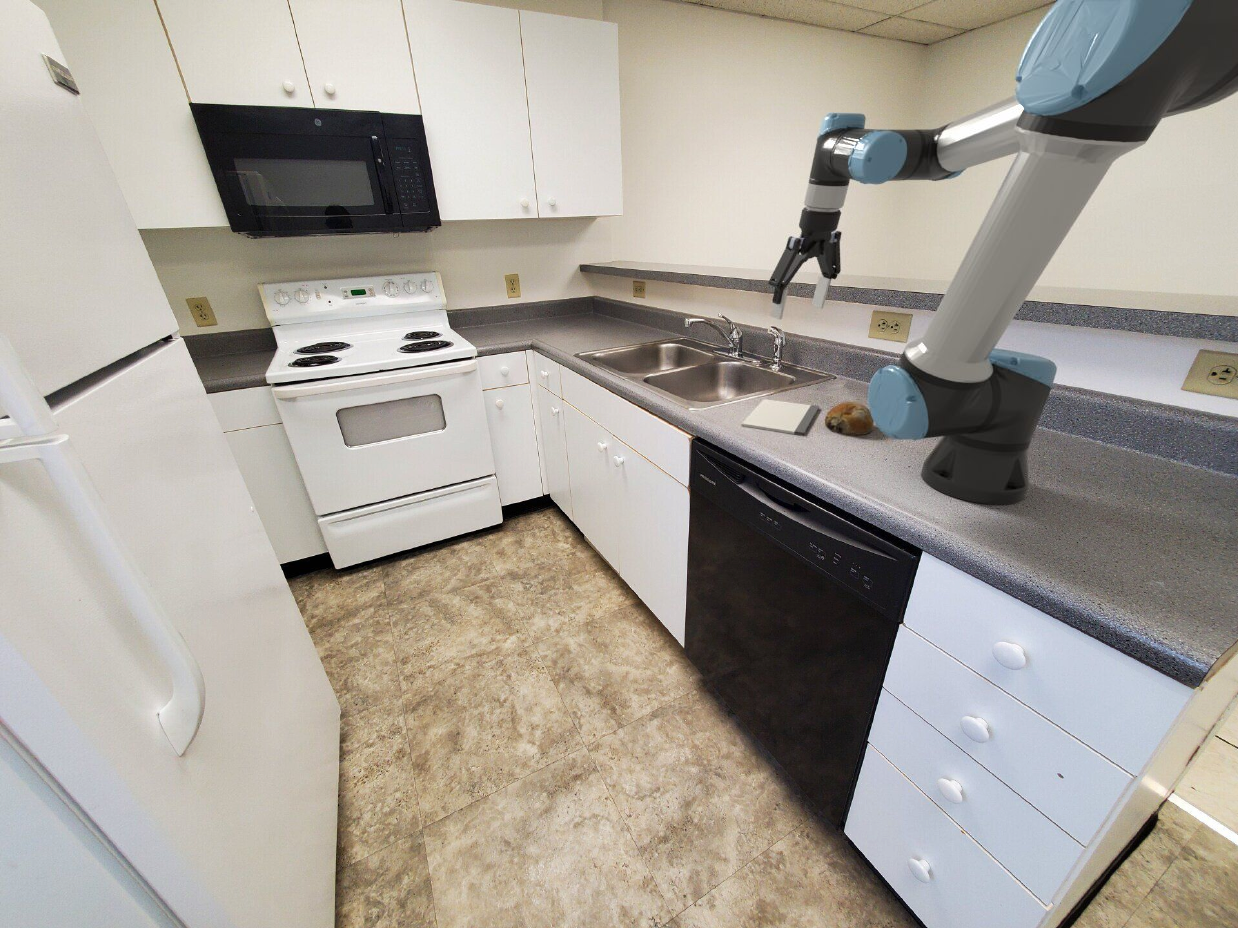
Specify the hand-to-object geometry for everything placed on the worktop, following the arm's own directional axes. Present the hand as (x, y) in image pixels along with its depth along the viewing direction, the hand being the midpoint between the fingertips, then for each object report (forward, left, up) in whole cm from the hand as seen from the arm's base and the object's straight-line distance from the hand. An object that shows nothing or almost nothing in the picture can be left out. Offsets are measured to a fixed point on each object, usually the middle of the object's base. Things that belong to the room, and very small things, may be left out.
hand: (797, 312), depth 109 cm
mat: (-4, 0, -24) cm, 25 cm away
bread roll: (-5, -15, -25) cm, 29 cm away
